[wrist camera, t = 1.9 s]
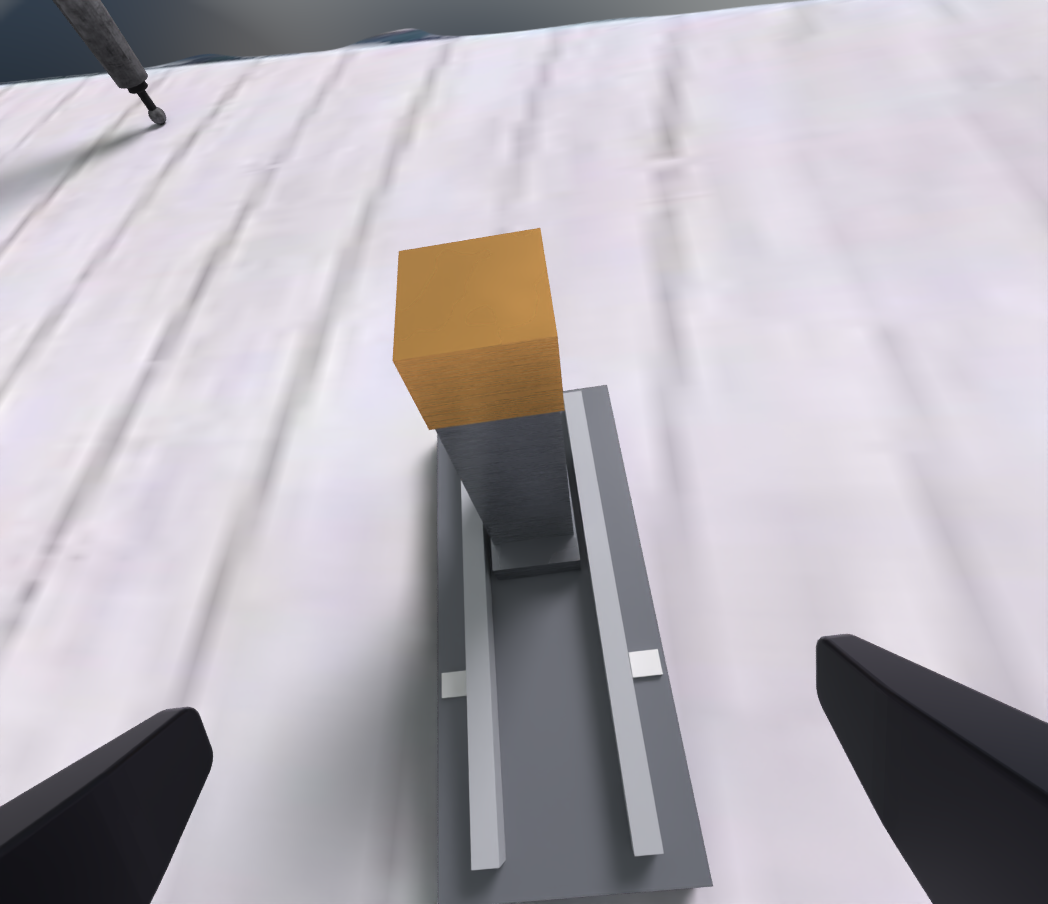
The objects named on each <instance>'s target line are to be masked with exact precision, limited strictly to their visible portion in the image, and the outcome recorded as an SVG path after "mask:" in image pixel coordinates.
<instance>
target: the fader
mask: <svg viewBox="0 0 1048 904" xmlns="http://www.w3.org/2000/svg"><path fill="white" fill-rule="evenodd" d="M393 362H394V364H395V366H396V368H397V370H398V372H399V374H400V376H401V378H402V379H403V381H404V383H405V385H406V387H407V389H408V391H409V393H410V395H411V396H412V398H413V400H414V402H415V404H416V406H417V408H418V410H419V412H420V413H421V415H422V417H423V419H424V421H425V423H426V425H427V427H428V429H429V430H432V429H435V430H436V432H437V434H438V436H439V438H440V440H441V442H442V444H443V446H444V448H445V450H446V452H447V453H448V455H449V457H450V459H451V461H452V463H453V465H454V467H455V469H456V471H457V473H458V475H459V477H460V479H461V481H462V483H463V485H464V487H465V489H466V491H467V493H468V495H469V497H470V499H471V501H472V503H473V505H474V507H475V508H476V510H477V512H478V514H479V516H480V518H481V520H482V522H483V524H484V526H485V528H486V530H487V532H488V534H489V536H490V538H491V551H492V569H493V572H494V574H495V576H496V577H497V579H498V580H503V579H512V578H520V577H528V576H536V575H544V574H553V573H561V572H569V571H577V570H581V561H580V554H579V547H578V540H577V533H576V527H575V520H574V513H573V506H572V499H571V493H570V486H569V479H568V472H567V465H566V459H565V450H564V440H563V431H562V422H561V413H560V411H565V409H564V398H563V388H562V378H561V367H560V357H559V347H558V336H557V330H556V324H555V317H554V311H553V305H552V299H551V292H550V286H549V280H548V274H547V267H546V261H545V255H544V249H543V242H542V236H541V230H540V228H537V229H531V230H525V231H519V232H512V233H506V234H500V235H494V236H488V237H482V238H476V239H470V240H464V241H458V242H452V243H446V244H440V245H434V246H428V247H422V248H416V249H409V250H403V251H399V258H398V275H397V293H396V311H395V328H394V346H393Z"/></svg>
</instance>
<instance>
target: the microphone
mask: <svg viewBox="0 0 1048 904" xmlns="http://www.w3.org/2000/svg"><path fill="white" fill-rule="evenodd" d="M53 2H54V3H55V4H56V5H57V7H58V8H59V9H60V11H61V12H62V13H63V15H64V16H65V17H66V19H67V20H68V21H69V23H70V24H71V25H72V26H73V28H74V29H75V30H76V32H77V33H78V34H79V36H80V37H81V38H82V39H83V41H84V42H85V44H86V45H87V46H88V47H89V49H90V50H91V51H92V53H93V54H94V55H95V57H96V58H97V59H98V61H99V62H100V63H101V65H102V66H103V67H104V69H105V70H106V71H107V72H108V74H109V75H110V76H111V78H112V79H113V80H114V82H115V83H116V84H117V86H118V87H119V88H127V89H128V91H129V92H130V93H132V94H135V93H137V94H138V96H139V97H140V98H141V100H142V101H143V103H144V104H145V106H146V107H147V108H148V110H149V111H148V114H149V117H150V119H151V120H152V121H153V122H155V123H157V124H163V123H165V121H166V115H165V113H164V111H163V110H162V109H160V108H158V107H156V106H155V104H154V103H153V101H152V100H151V98H150V97H149V96H148V94H147V93H146V91H145V89H146V88H147V87H148V84H147V83H146V82H145V80H146V79H147V77H148V74H147V73H146V71H145V70H144V68H143V66H142V65H141V63H140V62H139V60H138V59H137V57H136V56H135V54H134V52H133V51H132V49H131V48H130V46H129V44H128V43H127V41H126V40H125V38H124V36H123V35H122V33H121V32H120V30H119V29H118V27H117V26H116V24H115V22H114V21H113V19H112V18H111V16H110V14H109V13H108V11H107V10H106V8H105V7H104V5H103V3H102V2H101V0H53Z"/></svg>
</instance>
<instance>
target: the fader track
mask: <svg viewBox="0 0 1048 904" xmlns="http://www.w3.org/2000/svg"><path fill="white" fill-rule="evenodd" d="M563 398H564V409H565V411H560V413H561V422H562V431H563V440H564V450H565V459H566V465H567V472H568V479H569V486H570V493H571V499H572V506H573V513H574V520H575V527H576V533H577V540H578V547H579V554H580V561H581V570H577V571H569V572H561V573H553V574H544V575H536V576H528V577H520V578H512V579H503V580H498V579H497V577H496V576H495V574H494V572H493V569H492V551H491V538H490V536H489V534H488V532H487V530H486V528H485V526H484V524H483V522H482V520H481V518H480V516H479V514H478V512H477V510H476V508H475V507H474V505H473V503H472V501H471V499H470V497H469V495H468V493H467V491H466V489H465V487H464V485H463V483H462V481H461V479H460V477H459V475H458V473H457V471H456V469H455V467H454V465H453V463H452V461H451V459H450V457H449V455H448V453H447V452H446V450H445V448H444V446H443V444H442V442H441V440H440V438H439V436H438V434H437V559H438V904H504V903H516V902H528V901H541V900H553V899H565V898H577V897H589V896H602V895H614V894H626V893H638V892H650V891H663V890H675V889H687V888H699V887H711V886H713V884H712V879H711V874H710V870H709V865H708V860H707V855H706V851H705V846H704V841H703V837H702V832H701V827H700V822H699V818H698V813H697V808H696V803H695V799H694V794H693V789H692V785H691V780H690V775H689V770H688V766H687V761H686V756H685V751H684V747H683V742H682V737H681V733H680V728H679V723H678V718H677V714H676V709H675V704H674V700H673V695H672V690H671V685H670V681H669V676H668V671H667V666H666V662H665V657H664V652H663V648H662V643H661V638H660V633H659V629H658V624H657V619H656V614H655V610H654V605H653V600H652V596H651V591H650V586H649V581H648V577H647V572H646V567H645V562H644V558H643V553H642V548H641V544H640V539H639V534H638V529H637V525H636V520H635V515H634V511H633V506H632V501H631V496H630V492H629V487H628V482H627V477H626V473H625V468H624V463H623V459H622V454H621V449H620V444H619V440H618V435H617V430H616V425H615V421H614V416H613V411H612V407H611V402H610V397H609V392H608V388H607V385H603V386H596V387H589V388H582V389H575V390H568V391H563Z"/></svg>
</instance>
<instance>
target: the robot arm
mask: <svg viewBox="0 0 1048 904" xmlns="http://www.w3.org/2000/svg"><path fill="white" fill-rule="evenodd" d="M816 689H817V694H818V698H819V701H820V704H821V706H822V708H823V710H824V712H825V714H826V716H827V718H828V720H829V722H830V724H831V726H832V728H833V730H834V732H835V733H836V735H837V737H838V739H839V741H840V743H841V745H842V747H843V749H844V751H845V753H846V755H847V757H848V759H849V761H850V763H851V765H852V766H853V768H854V770H855V772H856V774H857V776H858V778H859V780H860V782H861V784H862V786H863V788H864V790H865V792H866V794H867V796H868V798H869V799H870V801H871V803H872V805H873V807H874V809H875V811H876V813H877V814H878V816H879V818H880V820H881V822H882V824H883V825H884V827H885V829H886V830H887V832H888V834H889V835H890V837H891V839H892V840H893V842H894V843H895V845H896V847H897V848H898V850H899V851H900V853H901V855H902V856H903V858H904V859H905V861H906V862H907V864H908V866H909V867H910V869H911V870H912V872H913V874H914V875H915V877H916V878H917V880H918V881H919V883H920V885H921V886H922V888H923V889H924V891H925V892H926V894H927V896H928V897H929V899H930V900H931V902H932V903H933V904H1048V723H1046V722H1044V721H1042V720H1040V719H1038V718H1035V717H1033V716H1031V715H1029V714H1027V713H1024V712H1022V711H1020V710H1018V709H1016V708H1013V707H1011V706H1009V705H1007V704H1004V703H1002V702H1000V701H998V700H996V699H993V698H991V697H989V696H987V695H985V694H982V693H980V692H978V691H976V690H974V689H971V688H969V687H967V686H965V685H963V684H960V683H958V682H956V681H954V680H951V679H949V678H947V677H945V676H943V675H940V674H938V673H936V672H934V671H932V670H929V669H927V668H925V667H923V666H921V665H918V664H916V663H914V662H912V661H910V660H907V659H905V658H903V657H901V656H898V655H896V654H894V653H892V652H890V651H887V650H885V649H883V648H881V647H879V646H876V645H874V644H872V643H870V642H868V641H865V640H863V639H861V638H859V637H857V636H854V635H851V634H840V635H831V636H823V637H821V638H820V639H819V640H818V641H817V645H816ZM212 762H213V750H212V747H211V744H210V742H209V739H208V736H207V733H206V731H205V728H204V725H203V723H202V720H201V717H200V715H199V713H198V711H196V710H195V709H194V708H192V707H182V708H173V709H166V710H163V711H161V712H159V713H157V714H155V715H154V716H152V717H150V718H149V719H147V720H145V721H144V722H142V723H140V724H139V725H137V726H135V727H134V728H132V729H130V730H128V731H127V732H125V733H123V734H122V735H120V736H118V737H117V738H115V739H113V740H112V741H110V742H108V743H107V744H105V745H103V746H102V747H100V748H98V749H97V750H95V751H93V752H91V753H90V754H88V755H86V756H85V757H83V758H81V759H80V760H78V761H76V762H75V763H73V764H71V765H70V766H68V767H66V768H65V769H63V770H61V771H59V772H58V773H56V774H54V775H53V776H51V777H49V778H48V779H46V780H44V781H43V782H41V783H39V784H38V785H36V786H34V787H33V788H31V789H29V790H28V791H26V792H24V793H22V794H21V795H19V796H17V797H16V798H14V799H12V800H11V801H9V802H7V803H6V804H4V805H2V806H1V807H0V904H150V903H151V901H152V899H153V897H154V895H155V893H156V891H157V889H158V887H159V885H160V883H161V880H162V878H163V876H164V874H165V872H166V870H167V867H168V865H169V863H170V861H171V858H172V856H173V854H174V852H175V849H176V847H177V845H178V843H179V840H180V838H181V836H182V833H183V831H184V829H185V827H186V824H187V822H188V820H189V818H190V815H191V813H192V811H193V809H194V806H195V804H196V802H197V799H198V797H199V795H200V793H201V790H202V788H203V786H204V784H205V781H206V779H207V777H208V775H209V772H210V770H211V766H212Z"/></svg>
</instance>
